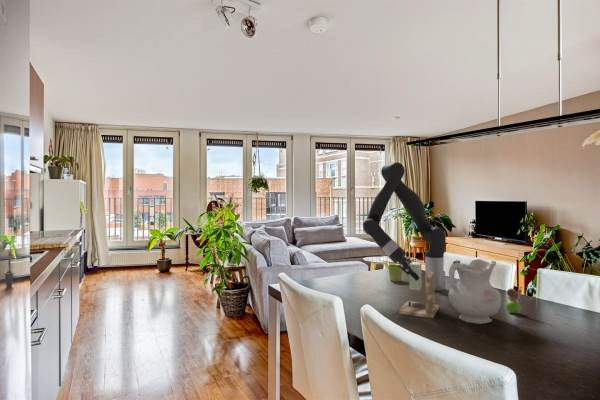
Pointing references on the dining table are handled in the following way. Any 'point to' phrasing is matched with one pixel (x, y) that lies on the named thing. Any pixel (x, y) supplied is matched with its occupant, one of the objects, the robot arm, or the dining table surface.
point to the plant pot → (395, 272)
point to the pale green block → (412, 282)
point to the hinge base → (423, 308)
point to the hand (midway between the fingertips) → (419, 277)
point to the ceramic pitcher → (474, 291)
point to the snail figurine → (513, 300)
